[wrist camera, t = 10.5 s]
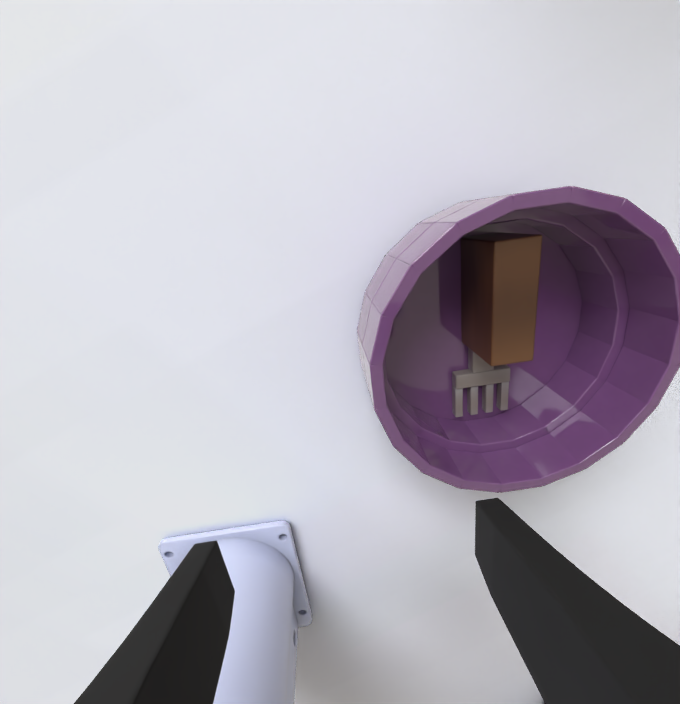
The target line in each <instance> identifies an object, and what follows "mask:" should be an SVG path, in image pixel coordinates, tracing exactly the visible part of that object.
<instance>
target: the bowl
mask: <svg viewBox="0 0 680 704" xmlns="http://www.w3.org/2000/svg"><path fill="white" fill-rule="evenodd" d="M498 232H500V233H520V234H540V235H542V248H541V262H540V275H539V289H538V302H537V316H536V329H535V343H534V356H533V360H532V361H526V362H520V363H513V364H506V365H507V366H509V367H510V381H509V392H508V409H507V410H502V411H501V410H500V409H499V408H498V407H497V406H496V404H497V383H496V384H494V387H493V412H489V413H485V411H484V410H483V409H482V386H478V414H475V415H470V413H469V412H468V411H467V388H463V416H462V417H455V415H454V414H453V407H452V372H453V371H459V370H466V369H469V368H468V347H467V346H466V345H465V344H463V343H462V335H461V238H464V237H471V236H477V235H484V234H491V233H498ZM357 330H358V331H357V336H358V344H359V352H360V361H361V367H362V370H363V373H364V376H365V380H366V383H367V387H368V390H369V393H370V396H371V400H372V403H373V406H374V410H375V412H376V414H377V416H378V418H379V420H380V422H381V424H382V426H383V428H384V430H385V432H386V434H387V436H388V438H389V439H390V441H391V443H392V445H393V446H394V448H395V449H397V450H398V451H399V452H400V453H401V454H402V455H403V456H404V457H405V458H407V459H408V460H409V461H410V462H411V463H412V464H413V465H414V466H415V467H416V468H418V469H419V470H420V471H421V472H422V473H424V474H426V475H428V476H431V477H433V478H436V479H438V480H440V481H443V482H445V483H447V484H450V485H452V486H454V487H457V488H460V489H469V490H478V491H487V492H497V493H499V492H500V493H502V492H509V491H515V490H522V489H529V488H535V487H541V486H545V485H547V484H550V483H552V482H555V481H557V480H560V479H562V478H565V477H567V476H570V475H572V474H575V473H577V472H580V471H582V470H584V469H586V468H588V467H589V466H591V465H592V464H594V463H595V462H597V461H598V460H600V459H601V458H603V457H604V456H606V455H607V454H608V453H610V452H611V451H613V450H614V449H616V448H617V447H619V446H620V445H622V444H623V442H625V441H626V440H627V439H628V438H629V437H630V436H631V435H632V434H633V432H634V431H635V430H636V429H637V428H638V427H639V426H640V425H641V424H642V423H643V422H644V421H645V420H646V419H647V417H648V416H649V415H650V414H651V413H652V412H653V411H654V410H655V409H656V407H657V406H658V405H659V403H660V401H661V399H662V397H663V396H664V394H665V392H666V390H667V389H668V387H669V385H670V383H671V381H672V380H673V378H674V376H675V374H676V373H677V371H678V369H679V367H680V254H679V252H678V250H677V248H676V246H675V245H674V243H673V241H672V239H671V237H670V235H669V233H668V231H667V230H666V229H665V227H664V226H662V225H661V224H660V223H658V222H657V221H656V220H654V219H653V218H652V217H650V216H649V215H648V214H646V213H645V212H644V211H642V210H641V209H640V208H638V207H637V206H636V205H634V204H633V203H632V202H630V201H629V200H628V199H625V198H624V197H619V196H615V195H610V194H606V193H602V192H597V191H593V190H588V189H584V188H580V187H575V186H566V187H559V188H552V189H545V190H538V191H531V192H524V193H517V194H510V195H504V196H497V197H490V198H484V199H477V200H470V201H464V202H460V203H457V204H455V205H453V206H451V207H449V208H447V209H445V210H443V211H441V212H439V213H437V214H435V215H433V216H431V217H429V218H427V219H425V220H423V221H421V222H420V223H419V224H417V225H416V226H415V227H414V228H413V229H412V230H411V231H409V232H408V233H407V234H406V235H405V236H404V237H403V238H402V239H401V240H400V241H399V242H398V243H397V244H396V245H395V246H394V247H393V248H392V249H391V250H390V251H389V252H388V253H387V255H385V256H384V258H383V260H382V262H381V264H380V265H379V267H378V269H377V271H376V273H375V274H374V276H373V278H372V280H371V281H370V283H369V285H368V287H367V289H366V292H365V294H364V299H363V303H362V308H361V313H360V318H359V323H358V327H357Z"/></svg>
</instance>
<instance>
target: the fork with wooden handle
mask: <svg viewBox="0 0 680 704" xmlns="http://www.w3.org/2000/svg"><path fill="white" fill-rule="evenodd" d="M541 248H542V235H540V234H520V233H500V232H498V233H491V234H484V235H477V236H471V237H464V238H461V335H462V343H463V344H465V345H466V346H467V347H468V368H469V369H466V370H459V371H453V372H452V407H453V414H454V415H455V417H462V416H463V388H467V411H468V412H469V413H470V415H475V414H478V386H482V409H483V410H484V411H485V413H489V412H493V387H494V384H496V383H497V404H496V406H497V407H498V408H499V409H500V410H501V411H502V410H507V409H508V392H509V381H510V367H509V366H507V365H506V364H513V363H520V362H526V361H532V360H533V356H534V343H535V329H536V316H537V302H538V289H539V275H540V262H541Z"/></svg>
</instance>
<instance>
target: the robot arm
mask: <svg viewBox="0 0 680 704" xmlns="http://www.w3.org/2000/svg"><path fill="white" fill-rule="evenodd" d="M281 534H285V535H281ZM158 549H159V551H160V554H161V556H162V558H163V560H164V563H165V565H166V567H167V569H168V572H169V574H170V576H171V577H170V579H169V580H168V582H167V583H166V584H165V586H164V587H163V589H162V590H161V591H160V593H159V594H158V596H157V597H156V598H155V600H154V601H153V602H152V604H151V605H150V607H149V608H148V609H147V611H146V612H145V613H144V615H143V616H142V617H141V619H140V620H139V621H138V623H137V624H136V625H135V627H134V628H133V630H132V631H131V632H130V634H129V635H128V636H127V638H126V639H125V640H124V641H123V643H122V644H121V645H120V647H119V648H118V649H117V650H116V652H115V653H114V654H113V655H112V657H111V658H110V659H109V661H108V662H107V663H106V664H105V666H104V667H103V668H102V669H101V671H100V672H99V673H98V675H97V676H96V677H95V678H94V680H93V681H92V682H91V683H90V685H89V686H88V687H87V688H86V690H85V691H84V692H83V693H82V694H81V696H80V697H79V698H78V699H77V700H76V702H75V703H74V704H294V699H295V679H296V658H297V638H298V627H303V626H308V625H310V624H311V623H312V612H311V608H310V604H309V600H308V596H307V592H306V588H305V584H304V580H303V576H302V572H301V568H300V564H299V560H298V556H297V552H296V548H295V544H294V540H293V536H292V531H291V527H290V524H289V523H288V522H287V521H284V520H280V521H274V522H267V523H260V524H254V525H247V526H241V527H234V528H227V529H221V530H214V531H207V532H201V533H194V534H188V535H181V536H174V537H168V538H164V539H162V540H161V542H160V544H159V546H158ZM475 555H476V558H477V561H478V563H479V566H480V568H481V571H482V574H483V576H484V579H485V581H486V584H487V586H488V589H489V591H490V594H491V596H492V598H493V600H494V602H495V604H496V606H497V608H498V610H499V612H500V614H501V616H502V618H503V620H504V622H505V624H506V626H507V628H508V630H509V632H510V634H511V636H512V638H513V640H514V642H515V644H516V646H517V648H518V650H519V652H520V654H521V656H522V658H523V660H524V662H525V664H526V666H527V668H528V670H529V672H530V674H531V676H532V678H533V680H534V682H535V684H536V686H537V688H538V690H539V692H540V694H541V696H542V698H543V700H544V702H545V704H680V646H679V645H678V644H677V643H675V642H674V641H672V640H671V639H670V638H668V637H667V636H665V635H664V634H663V633H661V632H660V631H658V630H657V629H656V628H654V627H653V626H651V625H650V624H649V623H647V622H646V621H645V620H643V619H642V618H641V617H639V616H638V615H637V614H635V613H634V612H633V611H631V610H630V609H629V608H627V607H626V606H625V605H623V604H622V603H621V602H620V601H618V600H617V599H616V598H615V597H613V596H612V595H611V594H609V593H608V592H607V591H606V590H604V589H603V588H602V587H600V586H599V585H598V584H597V583H595V582H594V581H593V580H592V579H591V578H589V577H588V576H587V575H586V574H584V573H583V572H582V571H581V570H580V569H578V568H577V567H576V566H575V565H574V564H572V563H571V562H570V561H569V560H568V559H566V558H565V557H564V556H563V555H562V554H561V553H559V552H558V551H557V550H556V549H555V548H553V547H552V546H551V545H550V544H549V543H548V542H547V541H545V540H544V539H543V538H542V537H541V536H540V535H539V534H538V533H536V532H535V531H534V530H533V529H532V528H531V527H530V526H529V525H527V524H526V523H525V522H524V521H523V520H522V519H521V518H520V517H519V516H518V515H516V514H515V513H514V512H513V511H512V510H511V509H510V508H509V507H508V506H507V505H505V504H504V503H503V502H502V501H501V500H500V499H498V498H494V499H487V500H480V501H476V527H475Z"/></svg>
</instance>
